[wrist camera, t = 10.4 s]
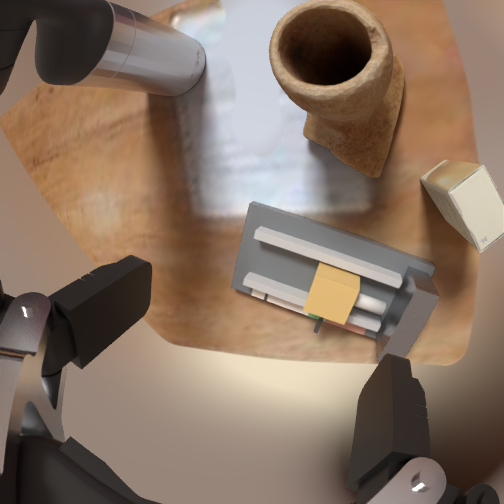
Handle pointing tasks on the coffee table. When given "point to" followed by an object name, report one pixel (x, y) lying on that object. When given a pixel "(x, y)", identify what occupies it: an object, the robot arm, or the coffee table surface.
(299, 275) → the base
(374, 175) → the brown clay boot
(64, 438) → the robot arm
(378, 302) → the gauge carriage
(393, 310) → the grey end plate
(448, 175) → the skincare box
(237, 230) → the coffee table surface
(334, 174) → the coffee table surface
